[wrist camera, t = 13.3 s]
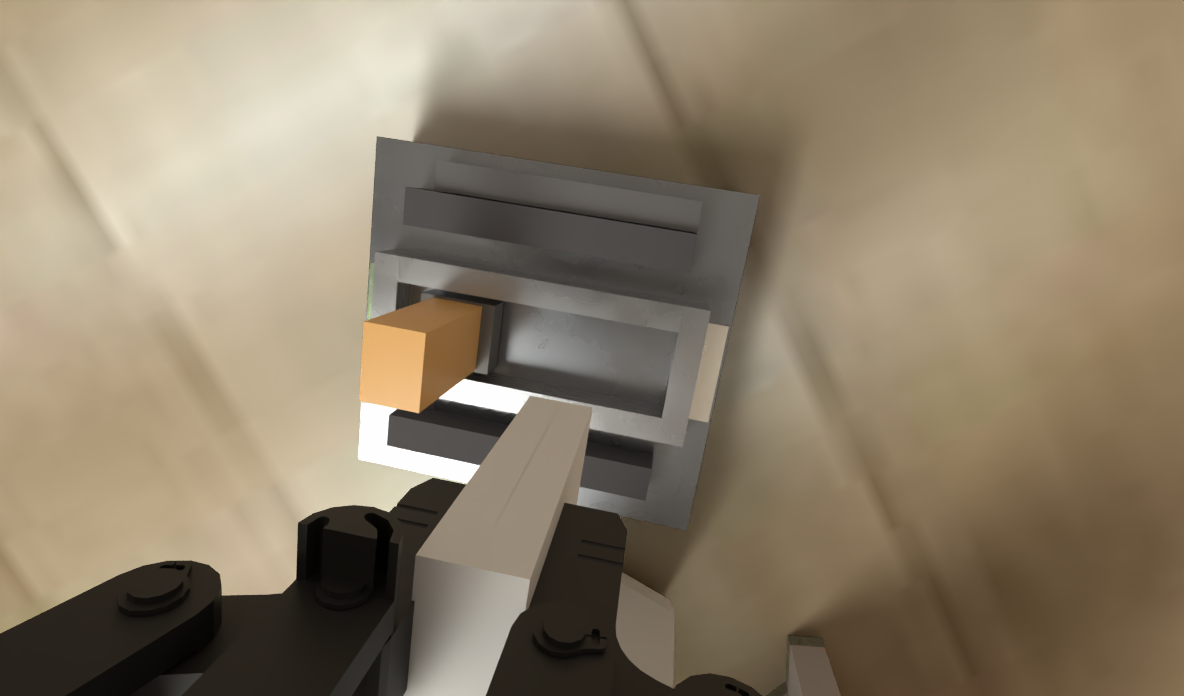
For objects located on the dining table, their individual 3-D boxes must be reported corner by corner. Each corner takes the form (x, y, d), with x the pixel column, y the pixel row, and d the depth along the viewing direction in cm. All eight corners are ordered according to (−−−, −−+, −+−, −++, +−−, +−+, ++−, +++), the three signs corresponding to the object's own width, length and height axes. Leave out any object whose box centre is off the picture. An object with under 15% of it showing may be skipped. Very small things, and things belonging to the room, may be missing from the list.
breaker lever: (428, 353, 25) (344, 400, 19) (433, 288, 24) (348, 315, 18) (496, 366, 24) (433, 419, 18) (504, 301, 24) (441, 333, 18)
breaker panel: (389, 435, 29) (339, 473, 25) (410, 144, 26) (356, 131, 22) (686, 497, 28) (687, 550, 24) (750, 196, 24) (765, 194, 20)
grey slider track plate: (402, 433, 26) (386, 445, 25) (423, 158, 23) (407, 155, 22) (647, 485, 25) (645, 500, 23) (702, 201, 22) (703, 201, 21)
